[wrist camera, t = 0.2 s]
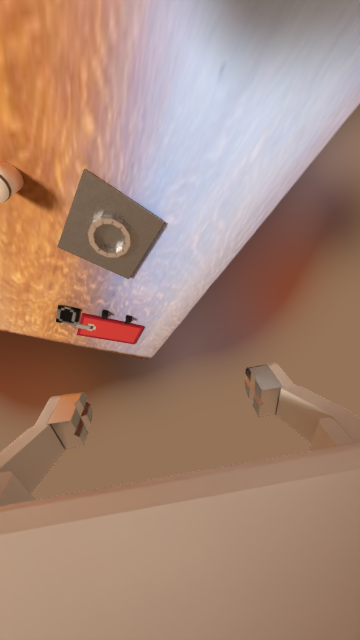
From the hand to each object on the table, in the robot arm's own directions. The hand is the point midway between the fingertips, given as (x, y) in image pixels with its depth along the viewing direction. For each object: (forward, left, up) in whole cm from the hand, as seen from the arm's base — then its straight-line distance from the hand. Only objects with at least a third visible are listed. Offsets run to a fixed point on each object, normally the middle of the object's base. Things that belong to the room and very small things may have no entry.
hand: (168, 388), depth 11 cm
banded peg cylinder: (+17, -22, -52) cm, 59 cm away
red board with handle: (+51, +11, -53) cm, 74 cm away
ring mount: (+17, 0, -52) cm, 55 cm away
